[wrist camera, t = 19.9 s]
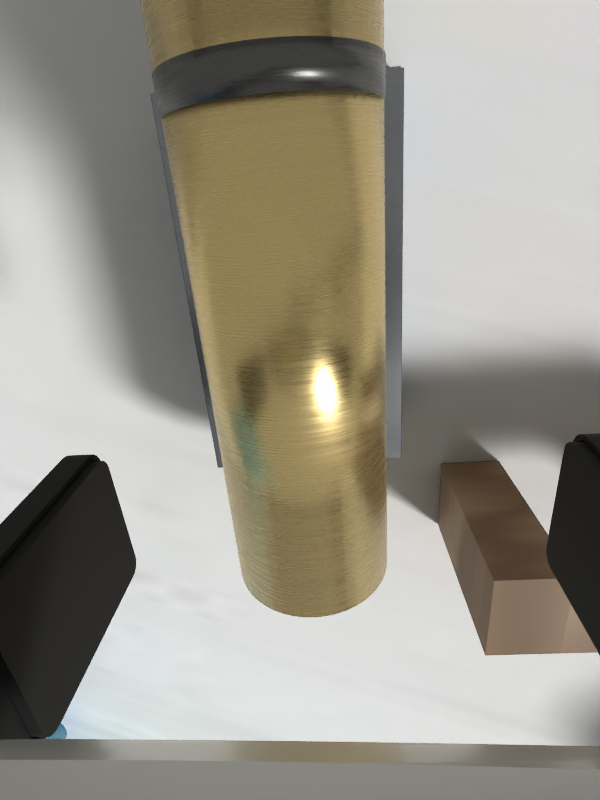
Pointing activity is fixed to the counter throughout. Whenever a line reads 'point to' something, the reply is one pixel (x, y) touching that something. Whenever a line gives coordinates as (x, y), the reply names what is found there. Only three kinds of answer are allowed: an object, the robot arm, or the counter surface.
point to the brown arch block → (504, 564)
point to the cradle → (392, 259)
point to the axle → (287, 275)
